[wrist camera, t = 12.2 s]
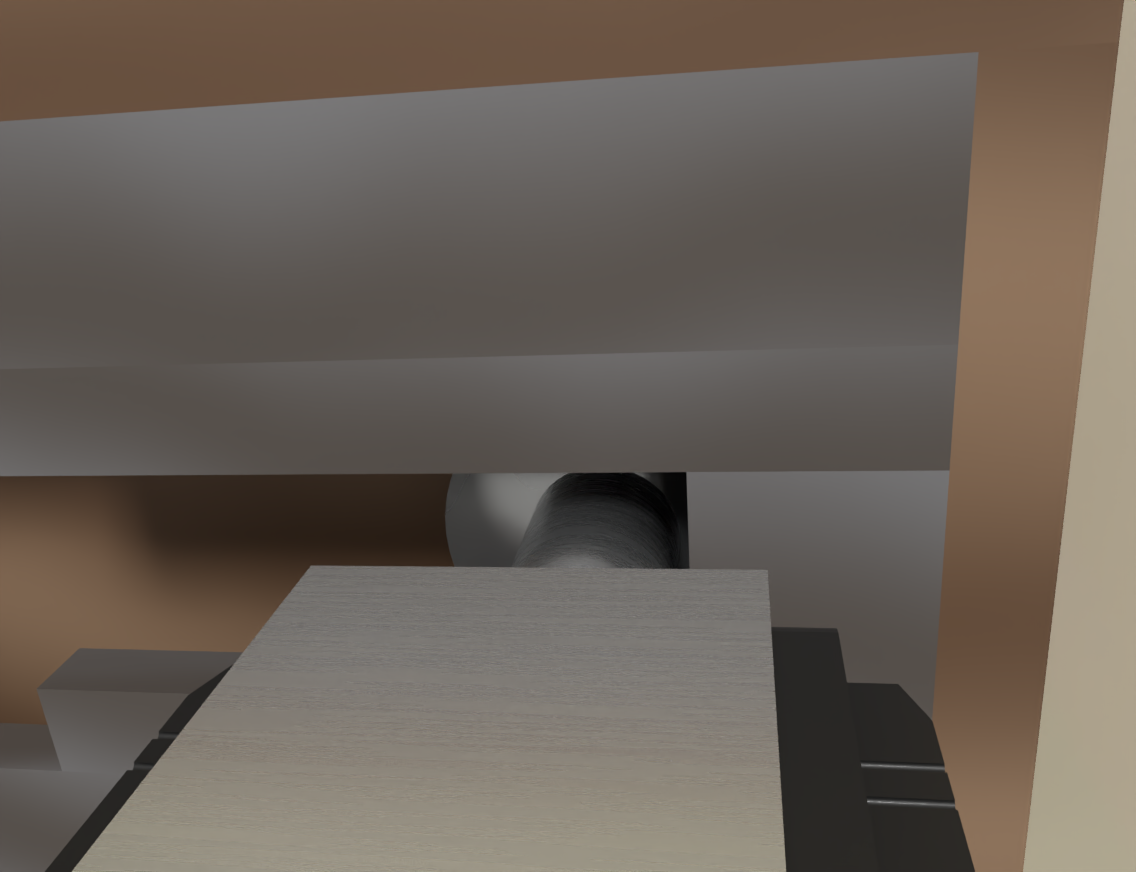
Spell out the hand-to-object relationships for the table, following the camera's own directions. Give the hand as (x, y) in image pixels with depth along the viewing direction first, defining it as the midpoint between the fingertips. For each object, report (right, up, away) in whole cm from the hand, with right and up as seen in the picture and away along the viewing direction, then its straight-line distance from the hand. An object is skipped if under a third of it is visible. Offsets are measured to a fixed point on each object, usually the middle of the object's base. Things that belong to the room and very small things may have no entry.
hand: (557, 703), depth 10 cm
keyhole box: (-5, +2, +7) cm, 8 cm away
